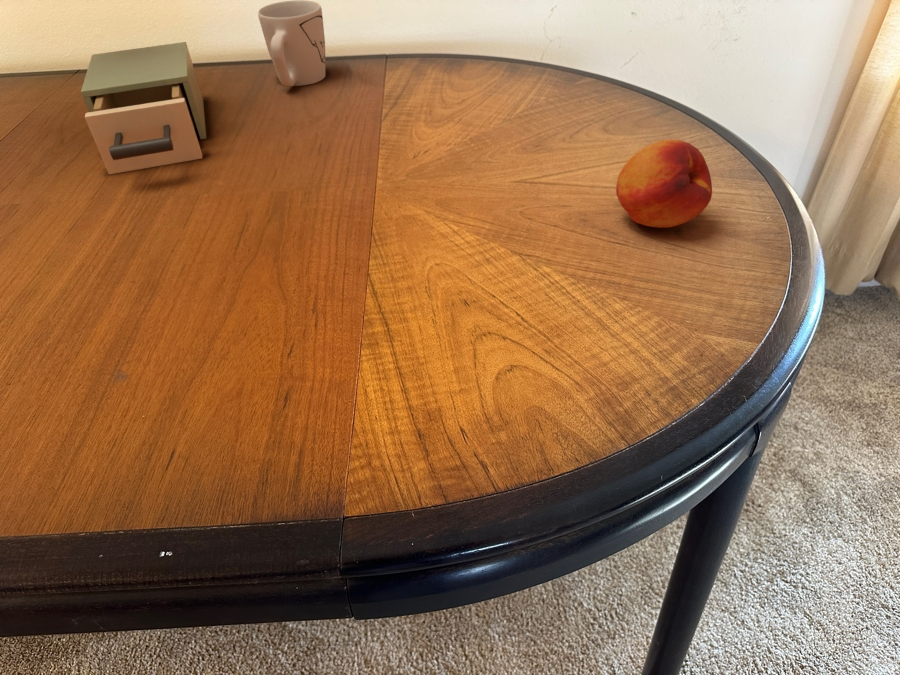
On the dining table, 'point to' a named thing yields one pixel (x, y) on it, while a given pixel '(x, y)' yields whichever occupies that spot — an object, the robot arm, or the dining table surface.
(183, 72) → the cabinet
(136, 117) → the drawer
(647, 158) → the fruit
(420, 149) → the dining table surface
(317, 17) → the mug
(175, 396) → the dining table surface
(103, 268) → the dining table surface
